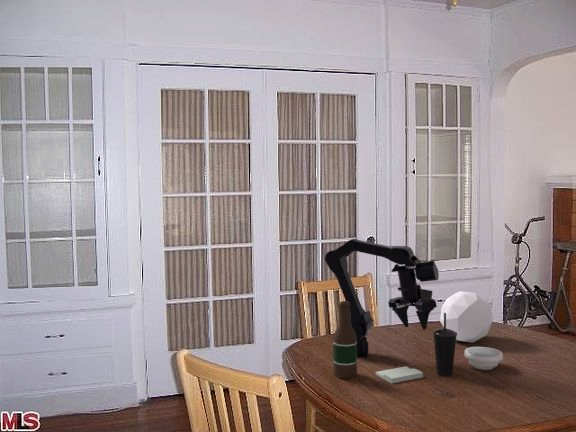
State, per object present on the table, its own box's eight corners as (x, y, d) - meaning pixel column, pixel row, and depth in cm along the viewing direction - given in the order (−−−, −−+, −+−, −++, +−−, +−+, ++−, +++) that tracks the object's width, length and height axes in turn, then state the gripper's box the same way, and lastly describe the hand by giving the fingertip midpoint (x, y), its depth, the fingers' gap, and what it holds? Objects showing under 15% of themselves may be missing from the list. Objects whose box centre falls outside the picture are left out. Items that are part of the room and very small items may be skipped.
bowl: (473, 373, 181) (473, 358, 181) (459, 361, 193) (459, 346, 193) (509, 372, 182) (509, 356, 182) (492, 360, 194) (493, 345, 194)
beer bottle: (331, 371, 186) (330, 299, 184) (354, 370, 187) (354, 298, 185) (335, 379, 178) (334, 305, 177) (359, 378, 179) (359, 304, 177)
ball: (463, 353, 224) (472, 307, 233) (499, 348, 207) (507, 299, 215) (424, 333, 220) (435, 288, 228) (458, 326, 202) (469, 277, 211)
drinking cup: (458, 378, 177) (458, 316, 176) (433, 377, 179) (433, 315, 177) (455, 370, 185) (456, 310, 183) (431, 369, 186) (432, 309, 185)
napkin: (391, 383, 174) (391, 378, 174) (375, 374, 182) (375, 369, 182) (423, 377, 179) (423, 372, 179) (406, 368, 187) (406, 364, 187)
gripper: (444, 279, 188) (452, 325, 188) (408, 278, 205) (415, 320, 204) (419, 285, 183) (427, 333, 183) (384, 284, 199) (391, 327, 199)
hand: (415, 328), depth 192 cm, fingers open, 9 cm apart
